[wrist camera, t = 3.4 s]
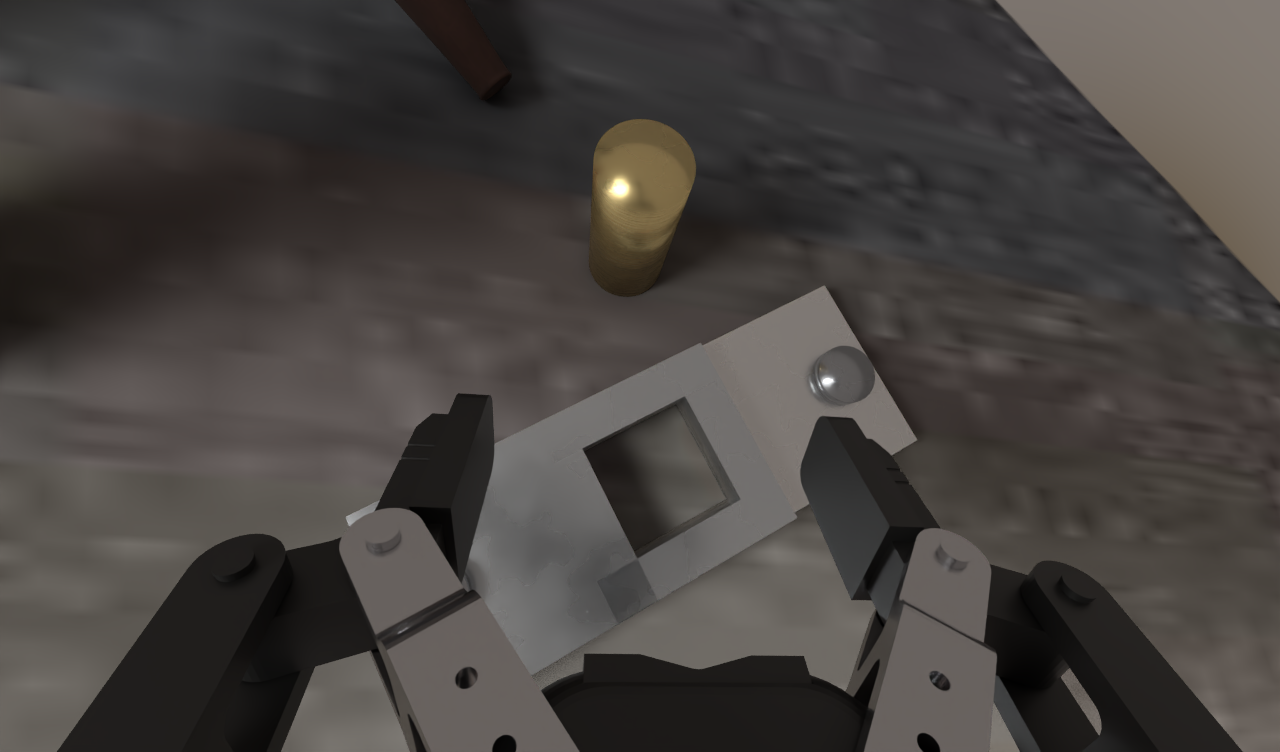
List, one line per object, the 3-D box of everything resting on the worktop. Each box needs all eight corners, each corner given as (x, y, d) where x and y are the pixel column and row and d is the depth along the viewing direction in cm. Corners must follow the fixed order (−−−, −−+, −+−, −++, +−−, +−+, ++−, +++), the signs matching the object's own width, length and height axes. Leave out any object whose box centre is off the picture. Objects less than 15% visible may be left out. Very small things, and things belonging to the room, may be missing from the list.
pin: (609, 308, 28) (623, 226, 20) (576, 245, 29) (575, 139, 20) (673, 278, 29) (714, 188, 21) (640, 219, 30) (665, 105, 21)
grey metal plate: (450, 708, 24) (430, 741, 20) (367, 514, 25) (337, 517, 22) (903, 442, 29) (943, 436, 26) (815, 293, 30) (842, 270, 27)
